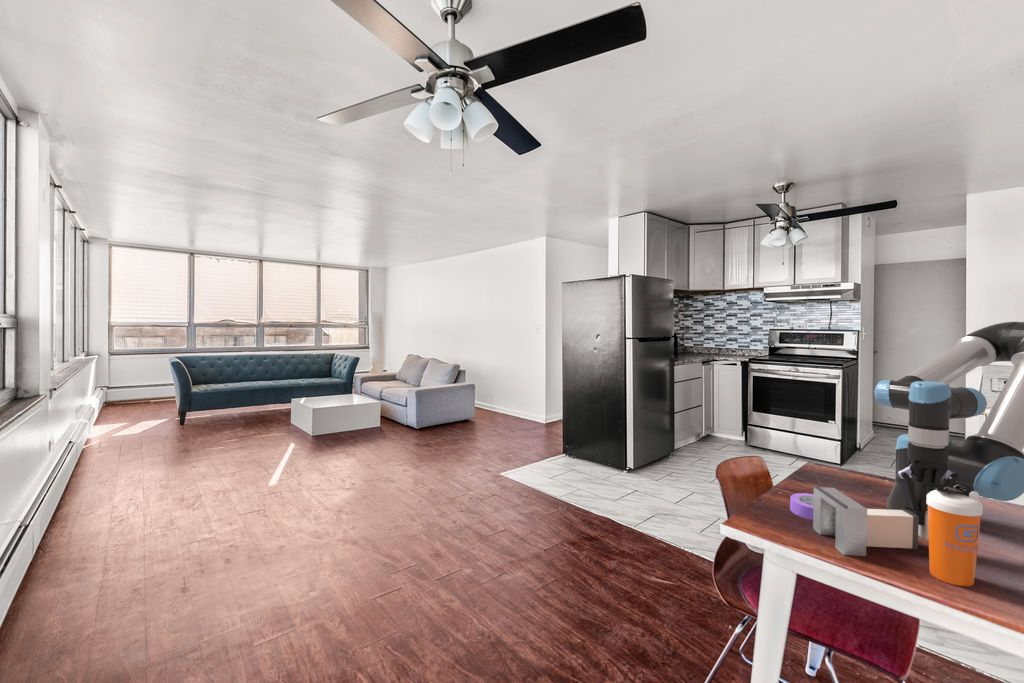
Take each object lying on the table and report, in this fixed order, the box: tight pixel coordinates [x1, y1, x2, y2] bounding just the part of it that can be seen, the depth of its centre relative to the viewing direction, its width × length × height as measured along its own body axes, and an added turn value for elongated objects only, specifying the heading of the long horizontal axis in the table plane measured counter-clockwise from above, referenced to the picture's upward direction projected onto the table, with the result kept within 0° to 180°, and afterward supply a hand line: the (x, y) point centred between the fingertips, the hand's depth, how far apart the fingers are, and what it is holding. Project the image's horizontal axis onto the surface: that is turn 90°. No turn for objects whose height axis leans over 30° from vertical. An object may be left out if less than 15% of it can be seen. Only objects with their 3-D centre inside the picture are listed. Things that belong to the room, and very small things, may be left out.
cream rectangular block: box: [866, 508, 919, 550], centre depth 117 cm, size 16×4×8 cm, turn 83°
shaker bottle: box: [926, 485, 984, 587], centre depth 101 cm, size 9×9×20 cm
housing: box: [812, 484, 868, 557], centre depth 118 cm, size 5×14×12 cm, turn 173°
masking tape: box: [789, 492, 814, 521], centre depth 135 cm, size 12×12×4 cm
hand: (924, 537), depth 115 cm, fingers closed
